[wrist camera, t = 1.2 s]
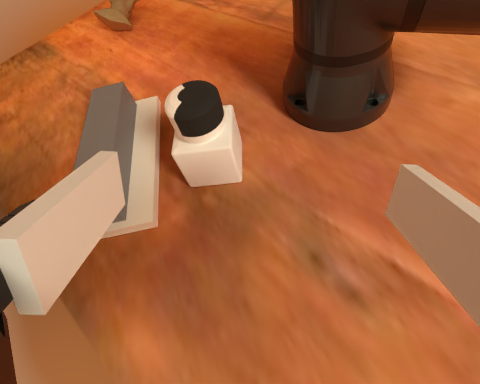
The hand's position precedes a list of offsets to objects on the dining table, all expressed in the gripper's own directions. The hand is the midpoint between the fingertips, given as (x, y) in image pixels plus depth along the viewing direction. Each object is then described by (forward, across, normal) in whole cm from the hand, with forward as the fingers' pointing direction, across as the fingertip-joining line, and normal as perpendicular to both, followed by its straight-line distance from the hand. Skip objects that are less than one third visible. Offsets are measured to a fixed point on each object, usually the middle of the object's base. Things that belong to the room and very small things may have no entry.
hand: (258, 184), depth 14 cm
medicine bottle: (+25, -4, -9) cm, 27 cm away
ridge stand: (+28, -18, -11) cm, 35 cm away
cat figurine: (+67, -28, +9) cm, 73 cm away
